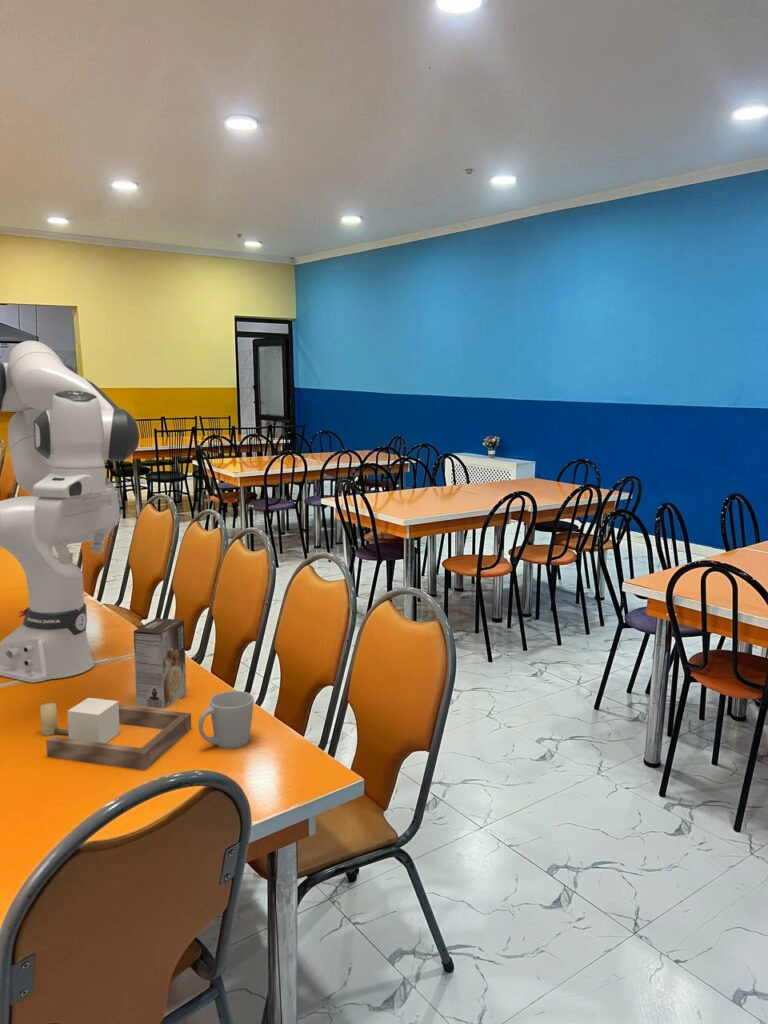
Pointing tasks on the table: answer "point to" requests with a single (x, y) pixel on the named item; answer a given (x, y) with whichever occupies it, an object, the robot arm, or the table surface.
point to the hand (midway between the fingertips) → (82, 557)
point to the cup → (229, 719)
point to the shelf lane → (126, 756)
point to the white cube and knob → (84, 720)
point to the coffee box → (160, 663)
